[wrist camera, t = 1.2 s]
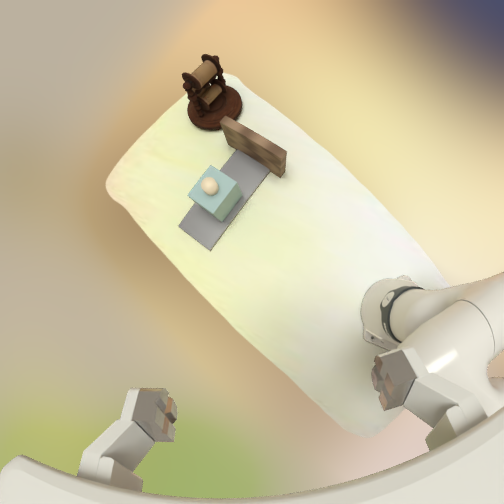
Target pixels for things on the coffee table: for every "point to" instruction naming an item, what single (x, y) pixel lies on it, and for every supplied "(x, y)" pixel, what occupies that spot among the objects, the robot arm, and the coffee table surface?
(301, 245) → the coffee table surface
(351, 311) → the coffee table surface
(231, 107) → the scroll
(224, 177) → the dowel block
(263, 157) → the backstop wall
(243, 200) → the grey flat rectangular plate
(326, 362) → the coffee table surface
